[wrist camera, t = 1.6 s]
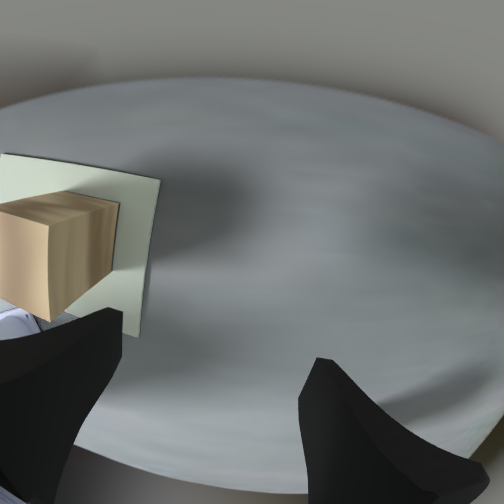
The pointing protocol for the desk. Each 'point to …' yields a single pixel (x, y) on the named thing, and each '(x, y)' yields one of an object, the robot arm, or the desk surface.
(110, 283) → the mat
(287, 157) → the desk surface
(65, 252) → the tan block
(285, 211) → the desk surface
